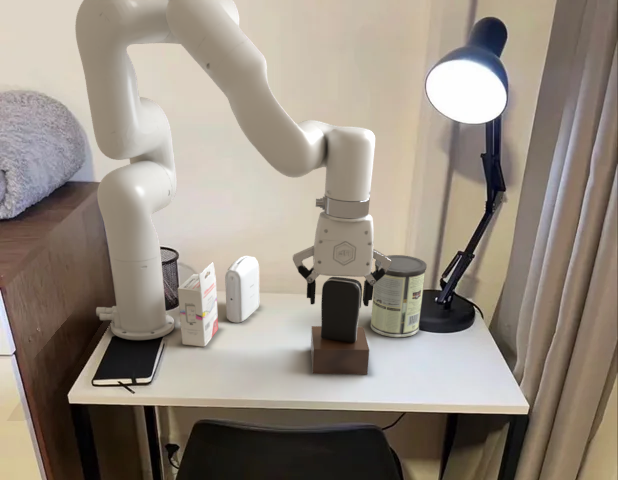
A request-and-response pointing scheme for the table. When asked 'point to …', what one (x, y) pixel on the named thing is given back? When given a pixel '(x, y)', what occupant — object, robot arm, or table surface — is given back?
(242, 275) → the photo printer
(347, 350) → the block
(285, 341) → the table surface
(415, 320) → the coffee can
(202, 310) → the ink cartridge box
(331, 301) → the black rounded block
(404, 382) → the table surface
